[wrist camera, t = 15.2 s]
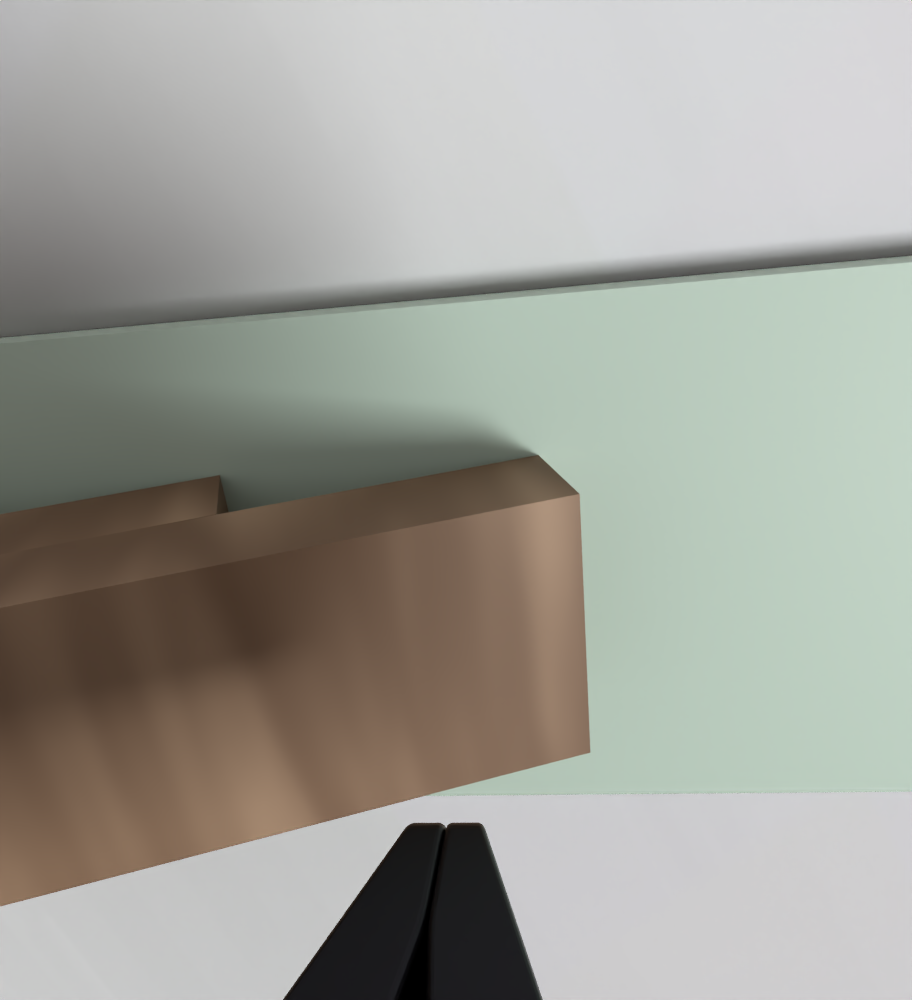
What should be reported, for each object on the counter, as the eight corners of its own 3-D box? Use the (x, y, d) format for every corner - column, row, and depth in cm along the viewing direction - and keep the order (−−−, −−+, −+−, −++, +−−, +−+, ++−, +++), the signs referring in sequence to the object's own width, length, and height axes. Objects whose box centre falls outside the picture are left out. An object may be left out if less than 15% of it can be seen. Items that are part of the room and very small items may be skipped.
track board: (932, 768, 16) (946, 791, 15) (-498, 786, 20) (-527, 804, 19) (1027, 245, 12) (1051, 249, 11) (-788, 408, 16) (-834, 418, 15)
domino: (579, 493, 11) (-188, 644, 10) (590, 752, 13) (-47, 918, 11) (537, 454, 13) (-124, 577, 11) (553, 690, 15) (-11, 827, 13)
